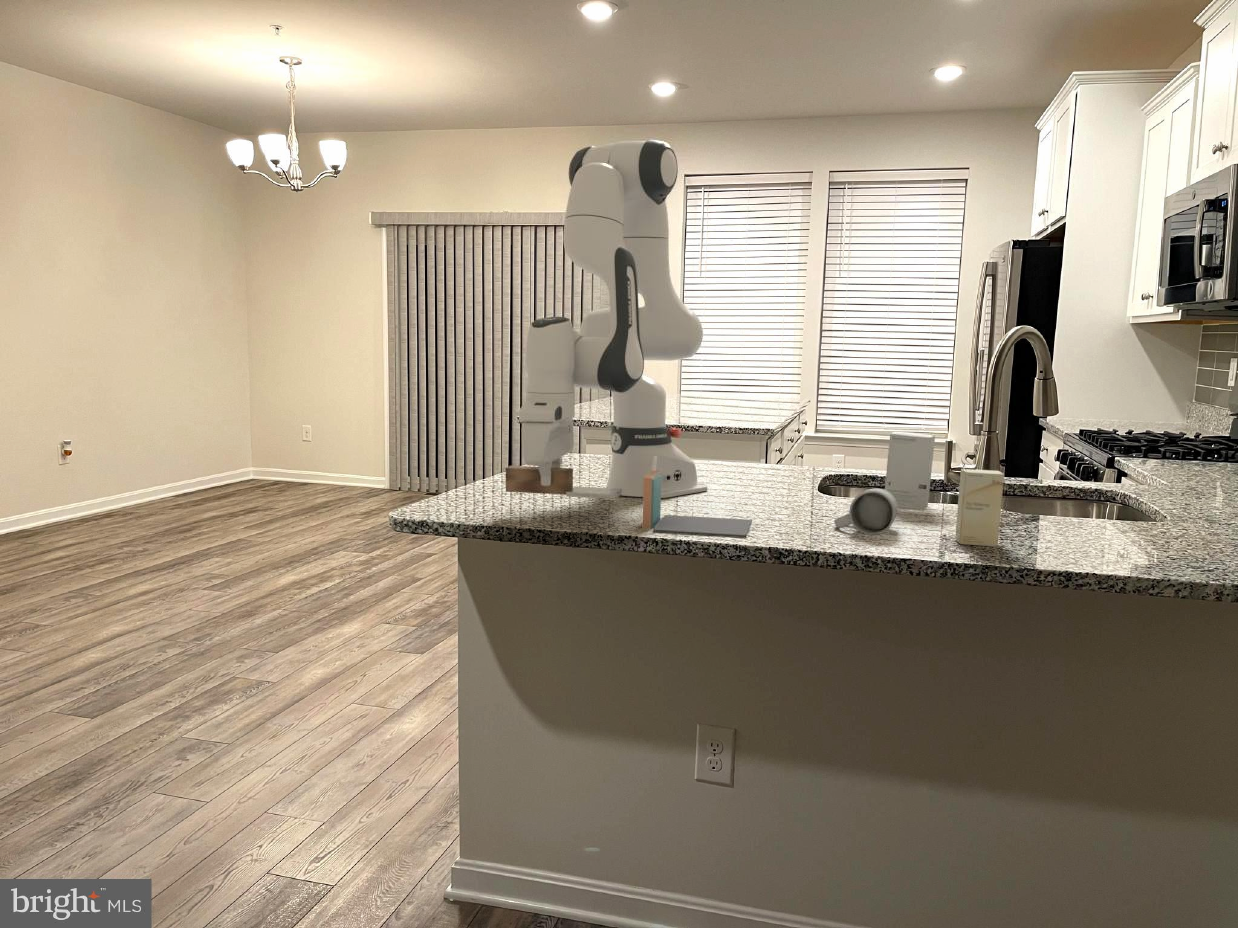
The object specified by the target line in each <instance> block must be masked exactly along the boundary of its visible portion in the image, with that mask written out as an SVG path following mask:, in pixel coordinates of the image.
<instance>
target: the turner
mask: <svg viewBox="0 0 1238 928" xmlns="http://www.w3.org/2000/svg"><path fill="white" fill-rule="evenodd" d="M551 475H553V479H552V480H553V483H552V484H551V485H549V486H543V485H541V475H540V472H539V468H538V466H530V465H527V466H525V465H509V466H506V467H505V492H509V493H510V492H511V493H524V494H525V493H526V494H527V493H528V494H529V493H530V494H531V493H532V494H546V495H561V496H562V495H563V496H564V495H565V496H566V497H568V498H570V497H572V498H587V499H589V498H590V499H604V500H606V499H607V500H608V499H609V500H616V499H618V497H620V496H622V495H621V494H622V492H623V489H613V488H606V487H592V486H589V487H588V486H574V468H570V467H568V468H567V467H560V468H551Z"/></svg>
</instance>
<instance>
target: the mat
mask: <svg viewBox="0 0 1238 928" xmlns="http://www.w3.org/2000/svg"><path fill="white" fill-rule="evenodd" d="M752 522H753V520H752V519H748V518H747V519H745V518H743V519H742V518H729V517H728V518H727V517H725V518H724V517H711V516H710V517H708V516H691V515H690V516H689V515H676V514H675V515H672V514H665V515H664V516H663V517H662V518H660V519H659V521H658V522H657V523H656V524H655V525H654V527H653V529H652V532H653V533H662V534H663V533H667V534H680V535H681V534H682V535H699V536H712V537H713V536H715V537H731V538H747V536H748V534H749V531H750V528H751V525H752V524H753V523H752Z"/></svg>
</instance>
